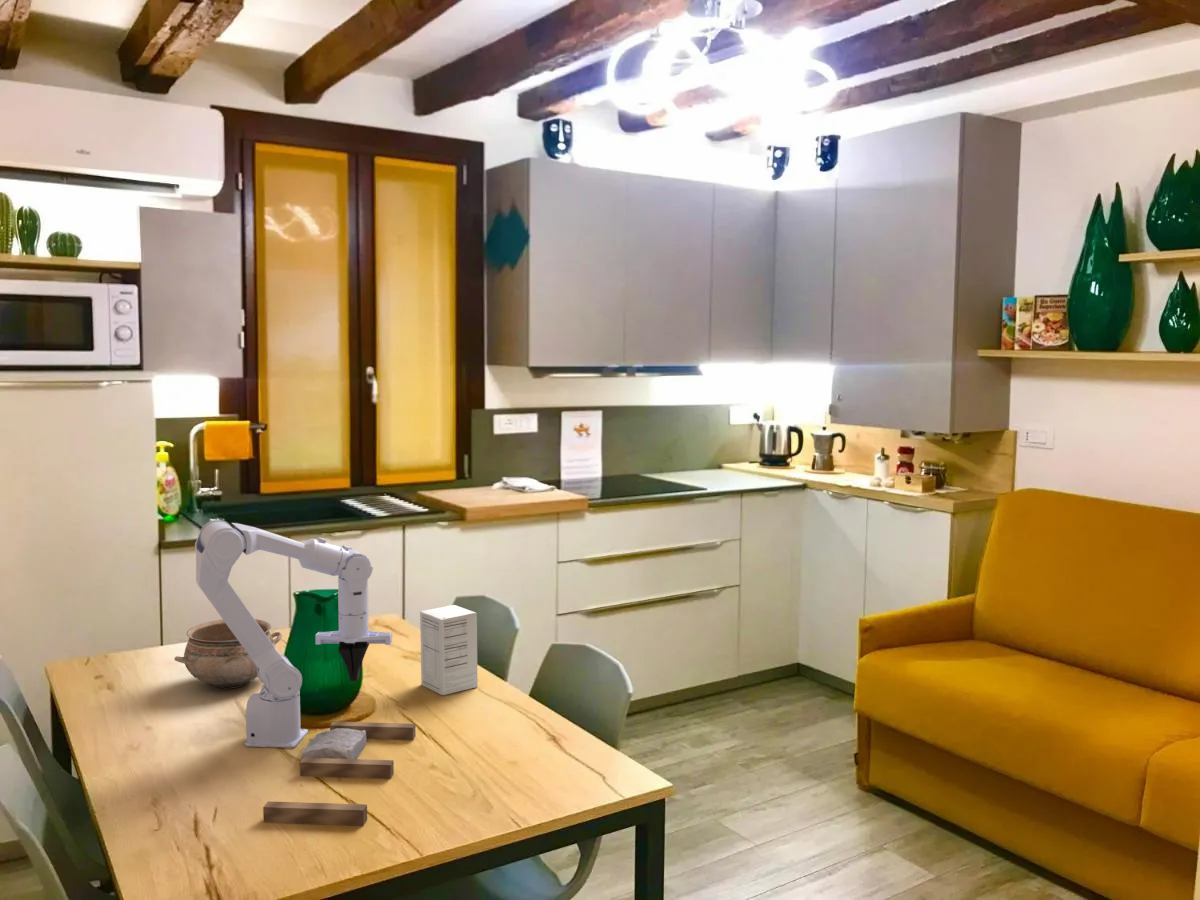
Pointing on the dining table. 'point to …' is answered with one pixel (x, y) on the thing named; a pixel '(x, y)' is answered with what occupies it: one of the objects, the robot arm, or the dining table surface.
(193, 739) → the dining table surface
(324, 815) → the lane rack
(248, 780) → the dining table surface
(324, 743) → the stone block
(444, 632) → the supplement box
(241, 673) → the cooking pot
